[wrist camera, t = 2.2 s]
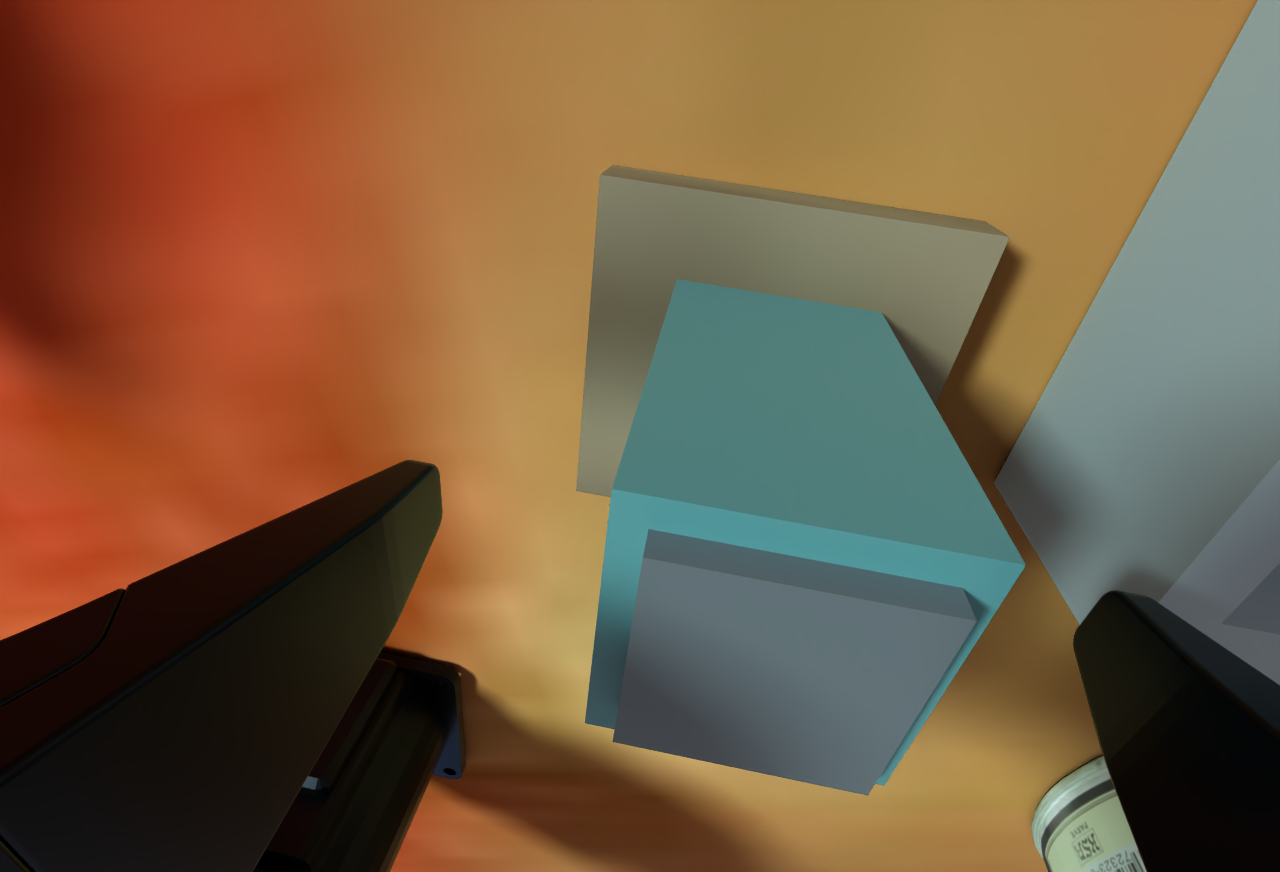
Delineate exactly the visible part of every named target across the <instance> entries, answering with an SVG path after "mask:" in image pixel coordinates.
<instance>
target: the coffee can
mask: <svg viewBox="0 0 1280 872" xmlns="http://www.w3.org/2000/svg"><path fill="white" fill-rule="evenodd" d="M1032 833H1033V840H1034V843H1035V846H1036V848H1037V850H1038V851H1039V853H1040V855H1041V856H1042V858H1043V859H1044V861H1045V864H1046V867H1047V869H1048V872H1146V869H1145V866H1144V864H1143V861H1142V859H1141V856H1140V853H1139V851H1138V848H1137V846H1136V843H1135V840H1134V838H1133V835H1132V833H1131V830H1130V827H1129V825H1128V822H1127V820H1126V817H1125V814H1124V812H1123V809H1122V807H1121V804H1120V801H1119V799H1118V796H1117V793H1116V791H1115V788H1114V786H1113V783H1112V780H1111V777H1110V775H1109V772H1108V769H1107V766H1106V763H1105V760H1104V757H1103V756H1101V757H1099V758H1096V759H1094V760H1091V761H1090V762H1089V763H1087V764H1086V765H1084V766H1082V767H1081V768H1079V769H1077V770H1076V771H1074V772H1072V773H1071V774H1069V775H1068V776H1066V777H1065V778H1063V779H1062V780H1061V781H1060V782H1058V783H1057V784H1056V785H1055V786H1053V787H1052V788H1051V789H1050V790H1049V791H1048V792H1047V794H1046V795H1045V796H1044V797H1043V799H1042V800H1041V802H1040V804H1039V805H1038V807H1037V809H1036V811H1035V814H1034V818H1033V821H1032Z"/></svg>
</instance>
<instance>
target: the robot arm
mask: <svg viewBox="0 0 1280 872" xmlns="http://www.w3.org/2000/svg"><path fill="white" fill-rule="evenodd" d="M441 519H442V498H441V485H440V474H439V470H438V468H437V467H436V466H435V465H434V464H431V463H425V462H420V461H415V460H406V461H403V462H400V463H398V464H396V465H394V466H392V467H389V468H387V469H385V470H383V471H380V472H378V473H376V474H374V475H372V476H369V477H367V478H365V479H363V480H360V481H358V482H356V483H354V484H352V485H349V486H347V487H345V488H343V489H340V490H338V491H336V492H334V493H332V494H329V495H327V496H325V497H323V498H320V499H318V500H316V501H314V502H311V503H309V504H307V505H305V506H303V507H300V508H298V509H296V510H294V511H291V512H289V513H287V514H285V515H283V516H280V517H278V518H276V519H274V520H271V521H269V522H267V523H265V524H263V525H260V526H258V527H256V528H254V529H251V530H249V531H247V532H245V533H243V534H240V535H238V536H236V537H234V538H231V539H229V540H227V541H225V542H223V543H220V544H218V545H216V546H214V547H211V548H209V549H207V550H205V551H202V552H200V553H198V554H196V555H194V556H191V557H189V558H187V559H185V560H182V561H180V562H178V563H176V564H174V565H171V566H169V567H167V568H165V569H162V570H160V571H158V572H156V573H153V574H151V575H149V576H147V577H145V578H142V579H140V580H138V581H136V582H133V583H131V584H130V585H128V587H127V588H126V590H125V589H117V590H115V591H113V592H111V593H109V594H106V595H104V596H102V597H100V598H98V599H95V600H93V601H91V602H89V603H86V604H84V605H82V606H80V607H77V608H75V609H73V610H71V611H68V612H66V613H64V614H61V615H59V616H57V617H54V618H52V619H50V620H47V621H45V622H43V623H40V624H38V625H36V626H34V627H31V628H29V629H27V630H24V631H22V632H20V633H17V634H15V635H13V636H10V637H8V638H5V639H3V640H0V872H390V870H391V868H392V866H393V863H394V861H395V859H396V856H397V854H398V852H399V850H400V847H401V845H402V843H403V841H404V838H405V836H406V834H407V831H408V829H409V827H410V825H411V822H412V820H413V818H414V815H415V813H416V811H417V809H418V806H419V804H420V802H421V799H422V797H423V795H424V793H425V790H426V788H427V786H428V784H429V781H430V779H431V777H432V775H437V776H441V777H446V778H450V779H458V778H460V777H461V776H462V774H463V771H464V769H465V766H466V756H465V743H464V729H463V716H462V702H461V689H460V677H459V674H458V673H457V672H456V671H455V670H454V669H452V668H451V667H448V666H445V665H441V664H436V663H431V662H426V661H421V660H416V659H412V658H407V657H402V656H397V655H392V654H387V653H382V652H380V651H381V650H382V648H383V646H384V644H385V643H386V641H387V639H388V638H389V636H390V634H391V632H392V630H393V628H394V627H395V625H396V623H397V621H398V619H399V617H400V615H401V613H402V611H403V608H404V606H405V604H406V602H407V600H408V597H409V595H410V593H411V590H412V588H413V586H414V584H415V581H416V579H417V577H418V574H419V572H420V570H421V568H422V565H423V563H424V561H425V559H426V556H427V554H428V552H429V549H430V547H431V545H432V543H433V540H434V538H435V536H436V533H437V531H438V529H439V526H440V523H441ZM1073 647H1074V652H1075V656H1076V659H1077V663H1078V667H1079V670H1080V674H1081V678H1082V681H1083V685H1084V689H1085V692H1086V696H1087V700H1088V703H1089V707H1090V711H1091V714H1092V718H1093V721H1094V725H1095V729H1096V732H1097V736H1098V740H1099V743H1100V747H1101V750H1102V753H1103V757H1104V760H1105V763H1106V766H1107V769H1108V772H1109V775H1110V777H1111V780H1112V783H1113V786H1114V788H1115V791H1116V793H1117V796H1118V799H1119V801H1120V804H1121V807H1122V809H1123V812H1124V814H1125V817H1126V820H1127V822H1128V825H1129V827H1130V830H1131V833H1132V835H1133V838H1134V840H1135V843H1136V846H1137V848H1138V851H1139V853H1140V856H1141V859H1142V861H1143V864H1144V866H1145V869H1146V872H1280V685H1279V684H1277V683H1276V682H1274V681H1273V680H1272V679H1270V678H1269V677H1267V676H1266V675H1264V674H1263V673H1261V672H1260V671H1258V670H1257V669H1255V668H1254V667H1252V666H1251V665H1249V664H1248V663H1246V662H1245V661H1244V660H1242V659H1241V658H1239V657H1238V656H1236V655H1235V654H1233V653H1232V652H1230V651H1229V650H1227V649H1226V648H1224V647H1223V646H1221V645H1220V644H1219V643H1217V642H1216V641H1214V640H1213V639H1211V638H1210V637H1208V636H1207V635H1205V634H1204V633H1202V632H1201V631H1199V630H1198V629H1196V628H1195V627H1193V626H1192V625H1191V624H1189V623H1188V622H1186V621H1185V620H1183V619H1182V618H1180V617H1179V616H1177V615H1176V614H1174V613H1173V612H1171V611H1170V610H1168V609H1167V608H1166V607H1164V606H1163V605H1161V604H1160V603H1158V602H1157V601H1155V600H1154V599H1152V598H1150V597H1148V596H1145V595H1142V594H1136V593H1131V592H1125V591H1120V590H1112V591H1109V592H1107V593H1105V594H1104V595H1103V596H1102V597H1101V598H1100V599H1099V600H1098V602H1097V603H1096V604H1095V606H1094V607H1093V608H1092V610H1091V611H1090V612H1089V613H1088V615H1087V616H1086V617H1085V619H1084V620H1083V621H1082V623H1081V624H1080V625H1079V627H1078V628H1077V630H1076V632H1075V634H1074V639H1073Z"/></svg>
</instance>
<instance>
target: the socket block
mask: <svg viewBox="0 0 1280 872" xmlns="http://www.w3.org/2000/svg"><path fill="white" fill-rule="evenodd" d="M994 484H995V486H996V488H997V489H998V491H999V493H1000V494H1001V496H1002V497H1003V499H1004V501H1005V502H1006V504H1007V506H1008V507H1009V509H1010V511H1011V512H1012V514H1013V516H1014V517H1015V519H1016V521H1017V522H1018V524H1019V526H1020V527H1021V529H1022V530H1023V532H1024V534H1025V535H1026V537H1027V539H1028V540H1029V542H1030V544H1031V545H1032V547H1033V549H1034V550H1035V552H1036V554H1037V555H1038V557H1039V559H1040V560H1041V562H1042V563H1043V565H1044V567H1045V568H1046V570H1047V572H1048V573H1049V575H1050V577H1051V578H1052V580H1053V582H1054V583H1055V585H1056V587H1057V588H1058V590H1059V592H1060V593H1061V595H1062V596H1063V598H1064V600H1065V601H1066V603H1067V605H1068V606H1069V608H1070V610H1071V611H1072V613H1073V615H1074V616H1075V618H1076V620H1077V621H1078V623H1079V625H1080V624H1081V623H1082V621H1083V620H1084V619H1085V617H1086V616H1087V615H1088V613H1089V612H1090V611H1091V610H1092V608H1093V607H1094V606H1095V604H1096V603H1097V602H1098V600H1099V599H1100V598H1101V597H1102V596H1103V595H1104V594H1105V593H1107V592H1109V591H1112V590H1120V591H1125V592H1131V593H1136V594H1142V595H1145V596H1148V597H1150V598H1152V599H1154V600H1155V601H1157V602H1158V603H1160V604H1161V605H1163V606H1164V607H1166V608H1167V609H1168V610H1170V611H1171V612H1173V613H1174V614H1176V615H1177V616H1179V617H1180V618H1182V619H1183V620H1185V621H1186V622H1188V623H1189V624H1191V625H1192V626H1193V627H1195V628H1196V629H1198V630H1199V631H1201V632H1202V633H1204V634H1205V635H1207V636H1208V637H1210V638H1211V639H1213V640H1214V641H1216V642H1217V643H1219V644H1220V645H1221V646H1223V647H1224V648H1226V649H1227V650H1229V651H1230V652H1232V653H1233V654H1235V655H1236V656H1238V657H1239V658H1241V659H1242V660H1244V661H1245V662H1246V663H1248V664H1249V665H1251V666H1252V667H1254V668H1255V669H1257V670H1258V671H1260V672H1261V673H1263V674H1264V675H1266V676H1267V677H1269V678H1270V679H1272V680H1273V681H1274V682H1276V683H1277V684H1279V685H1280V0H1258V1H1257V3H1256V5H1255V7H1254V8H1253V10H1252V12H1251V14H1250V16H1249V17H1248V19H1247V21H1246V23H1245V25H1244V27H1243V28H1242V30H1241V32H1240V34H1239V36H1238V38H1237V39H1236V41H1235V43H1234V45H1233V47H1232V49H1231V50H1230V52H1229V54H1228V56H1227V58H1226V60H1225V61H1224V63H1223V65H1222V67H1221V69H1220V70H1219V72H1218V74H1217V76H1216V78H1215V80H1214V81H1213V83H1212V85H1211V87H1210V89H1209V91H1208V92H1207V94H1206V96H1205V98H1204V100H1203V102H1202V103H1201V105H1200V107H1199V109H1198V111H1197V113H1196V114H1195V116H1194V118H1193V120H1192V122H1191V123H1190V125H1189V127H1188V129H1187V131H1186V133H1185V134H1184V136H1183V138H1182V140H1181V142H1180V144H1179V145H1178V147H1177V149H1176V151H1175V153H1174V155H1173V156H1172V158H1171V160H1170V162H1169V164H1168V166H1167V167H1166V169H1165V171H1164V173H1163V175H1162V176H1161V178H1160V180H1159V182H1158V184H1157V186H1156V187H1155V189H1154V191H1153V193H1152V195H1151V197H1150V198H1149V200H1148V202H1147V204H1146V206H1145V208H1144V209H1143V211H1142V213H1141V215H1140V217H1139V219H1138V220H1137V222H1136V224H1135V226H1134V228H1133V229H1132V231H1131V233H1130V235H1129V237H1128V239H1127V240H1126V242H1125V244H1124V246H1123V248H1122V250H1121V251H1120V253H1119V255H1118V257H1117V259H1116V261H1115V262H1114V264H1113V266H1112V268H1111V270H1110V272H1109V273H1108V275H1107V277H1106V279H1105V281H1104V282H1103V284H1102V286H1101V288H1100V290H1099V292H1098V293H1097V295H1096V297H1095V299H1094V301H1093V303H1092V304H1091V306H1090V308H1089V310H1088V312H1087V314H1086V315H1085V317H1084V319H1083V321H1082V323H1081V325H1080V326H1079V328H1078V330H1077V332H1076V334H1075V335H1074V337H1073V339H1072V341H1071V343H1070V345H1069V346H1068V348H1067V350H1066V352H1065V354H1064V356H1063V357H1062V359H1061V361H1060V363H1059V365H1058V367H1057V368H1056V370H1055V372H1054V374H1053V376H1052V378H1051V379H1050V381H1049V383H1048V385H1047V387H1046V388H1045V390H1044V392H1043V394H1042V396H1041V398H1040V399H1039V401H1038V403H1037V405H1036V407H1035V409H1034V410H1033V412H1032V414H1031V416H1030V418H1029V420H1028V421H1027V423H1026V425H1025V427H1024V429H1023V431H1022V432H1021V434H1020V436H1019V438H1018V440H1017V441H1016V443H1015V445H1014V447H1013V449H1012V451H1011V452H1010V454H1009V456H1008V458H1007V460H1006V462H1005V463H1004V465H1003V467H1002V469H1001V471H1000V473H999V474H998V476H997V478H996V480H995V482H994Z"/></svg>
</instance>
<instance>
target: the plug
mask: <svg viewBox="0 0 1280 872" xmlns="http://www.w3.org/2000/svg"><path fill="white" fill-rule="evenodd" d="M1025 566H1026V564H1025V563H1024V561H1023V559H1022V557H1021V556H1020V554H1019V552H1018V550H1017V549H1016V547H1015V545H1014V543H1013V542H1012V540H1011V538H1010V536H1009V535H1008V533H1007V531H1006V529H1005V528H1004V526H1003V524H1002V522H1001V521H1000V519H999V517H998V515H997V514H996V512H995V510H994V508H993V507H992V505H991V503H990V501H989V500H988V498H987V496H986V494H985V492H984V491H983V489H982V487H981V485H980V484H979V482H978V480H977V478H976V477H975V475H974V473H973V471H972V470H971V468H970V466H969V464H968V463H967V461H966V459H965V457H964V456H963V454H962V452H961V450H960V449H959V447H958V445H957V443H956V442H955V440H954V438H953V436H952V435H951V433H950V431H949V429H948V428H947V426H946V424H945V422H944V421H943V419H942V417H941V415H940V414H939V412H938V410H937V408H936V407H935V405H934V403H933V401H932V400H931V398H930V396H929V394H928V393H927V391H926V389H925V387H924V386H923V384H922V382H921V380H920V379H919V377H918V375H917V373H916V372H915V370H914V368H913V366H912V365H911V363H910V361H909V359H908V358H907V356H906V354H905V352H904V351H903V349H902V347H901V345H900V344H899V342H898V340H897V338H896V337H895V335H894V333H893V331H892V330H891V328H890V326H889V324H888V323H887V321H886V319H885V317H884V316H883V314H882V312H877V311H871V310H865V309H859V308H853V307H847V306H840V305H834V304H828V303H822V302H816V301H809V300H803V299H797V298H791V297H785V296H778V295H772V294H766V293H760V292H754V291H747V290H741V289H735V288H729V287H723V286H717V285H710V284H704V283H698V282H692V281H686V280H679V279H677V280H676V284H675V287H674V290H673V293H672V296H671V300H670V303H669V306H668V309H667V313H666V316H665V319H664V322H663V326H662V329H661V332H660V335H659V338H658V342H657V345H656V348H655V351H654V355H653V358H652V361H651V364H650V368H649V371H648V374H647V377H646V381H645V384H644V387H643V390H642V393H641V397H640V400H639V403H638V406H637V410H636V413H635V416H634V419H633V423H632V426H631V429H630V432H629V435H628V439H627V442H626V445H625V448H624V452H623V455H622V458H621V461H620V465H619V468H618V471H617V474H616V477H615V481H614V484H613V487H612V493H611V501H610V510H609V519H608V527H607V536H606V545H605V553H604V562H603V571H602V579H601V588H600V597H599V605H598V614H597V623H596V631H595V640H594V649H593V657H592V666H591V675H590V684H589V692H588V701H587V710H586V718H585V723H587V724H592V725H596V726H601V727H606V728H611V729H615V731H614V737H613V742H616V743H621V744H626V745H630V746H635V747H640V748H645V749H649V750H654V751H659V752H664V753H668V754H673V755H678V756H683V757H687V758H692V759H697V760H702V761H706V762H711V763H716V764H721V765H725V766H730V767H735V768H740V769H744V770H749V771H754V772H759V773H763V774H768V775H773V776H778V777H782V778H787V779H792V780H797V781H801V782H806V783H811V784H816V785H820V786H825V787H830V788H835V789H839V790H844V791H849V792H854V793H859V794H863V795H868V794H869V793H870V791H871V790H872V788H873V786H874V785H875V784H878V785H883V786H884V785H885V784H886V782H887V780H888V779H889V777H890V776H891V774H892V773H893V771H894V770H895V768H896V766H897V765H898V763H899V762H900V760H901V759H902V757H903V756H904V754H905V752H906V751H907V749H908V748H909V746H910V745H911V743H912V742H913V740H914V739H915V737H916V735H917V734H918V732H919V731H920V729H921V728H922V726H923V725H924V723H925V721H926V720H927V718H928V717H929V715H930V714H931V712H932V711H933V709H934V707H935V706H936V704H937V703H938V701H939V700H940V698H941V697H942V695H943V693H944V692H945V690H946V689H947V687H948V686H949V684H950V683H951V681H952V679H953V678H954V676H955V675H956V673H957V672H958V670H959V669H960V667H961V665H962V664H963V662H964V661H965V659H966V658H967V656H968V655H969V653H970V652H971V650H972V648H973V647H974V645H975V644H976V642H977V641H978V639H979V638H980V636H981V634H982V633H983V631H984V630H985V628H986V627H987V625H988V624H989V622H990V620H991V619H992V617H993V616H994V614H995V613H996V611H997V610H998V608H999V606H1000V605H1001V603H1002V602H1003V600H1004V599H1005V597H1006V596H1007V594H1008V592H1009V591H1010V589H1011V588H1012V586H1013V585H1014V583H1015V582H1016V580H1017V578H1018V577H1019V575H1020V574H1021V572H1022V571H1023V569H1024V568H1025Z"/></svg>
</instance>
